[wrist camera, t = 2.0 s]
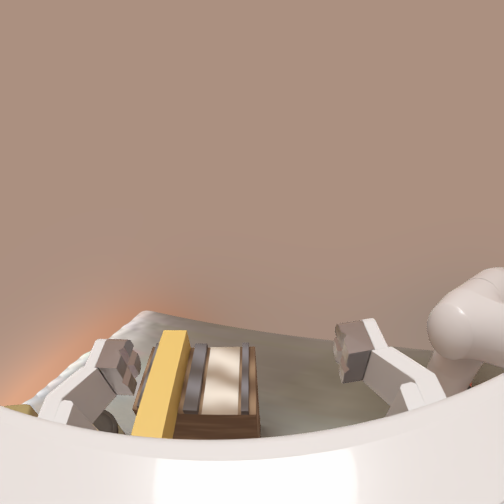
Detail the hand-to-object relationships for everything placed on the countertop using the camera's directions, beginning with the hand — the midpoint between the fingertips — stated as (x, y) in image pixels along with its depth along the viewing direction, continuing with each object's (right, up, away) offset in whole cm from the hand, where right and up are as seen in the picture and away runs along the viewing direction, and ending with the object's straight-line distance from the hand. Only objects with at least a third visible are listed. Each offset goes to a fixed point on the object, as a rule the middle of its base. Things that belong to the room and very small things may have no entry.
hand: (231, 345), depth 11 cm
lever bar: (-12, -18, +28) cm, 35 cm away
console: (-7, -39, +43) cm, 59 cm away
